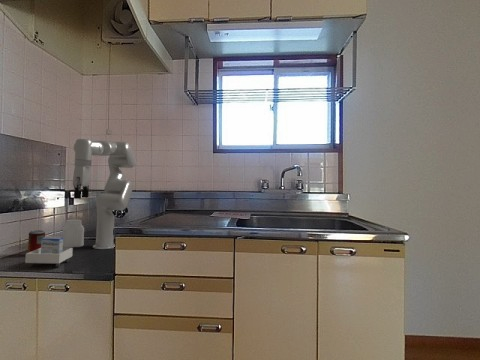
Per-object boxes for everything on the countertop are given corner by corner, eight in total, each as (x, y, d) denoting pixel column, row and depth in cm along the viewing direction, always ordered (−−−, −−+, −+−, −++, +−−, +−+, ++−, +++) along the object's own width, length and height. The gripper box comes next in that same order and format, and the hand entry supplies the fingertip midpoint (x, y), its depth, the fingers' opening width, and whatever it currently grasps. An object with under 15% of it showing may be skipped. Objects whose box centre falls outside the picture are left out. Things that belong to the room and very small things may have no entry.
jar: (60, 247, 181) (61, 221, 181) (62, 244, 190) (63, 219, 190) (83, 246, 186) (84, 221, 186) (84, 243, 195) (85, 219, 195)
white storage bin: (41, 260, 152) (42, 247, 152) (72, 260, 154) (72, 247, 154) (25, 267, 138) (25, 253, 138) (58, 268, 140) (59, 254, 140)
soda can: (47, 254, 165) (48, 230, 165) (35, 257, 158) (36, 232, 158) (36, 252, 167) (37, 229, 167) (24, 255, 160) (25, 231, 160)
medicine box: (40, 257, 145) (41, 238, 145) (44, 255, 149) (45, 236, 149) (58, 257, 146) (59, 238, 146) (62, 255, 150) (63, 237, 150)
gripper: (81, 164, 167) (80, 196, 167) (67, 162, 150) (65, 198, 150) (96, 165, 168) (95, 197, 168) (84, 163, 151) (82, 199, 151)
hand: (81, 198), depth 159 cm, fingers open, 9 cm apart
